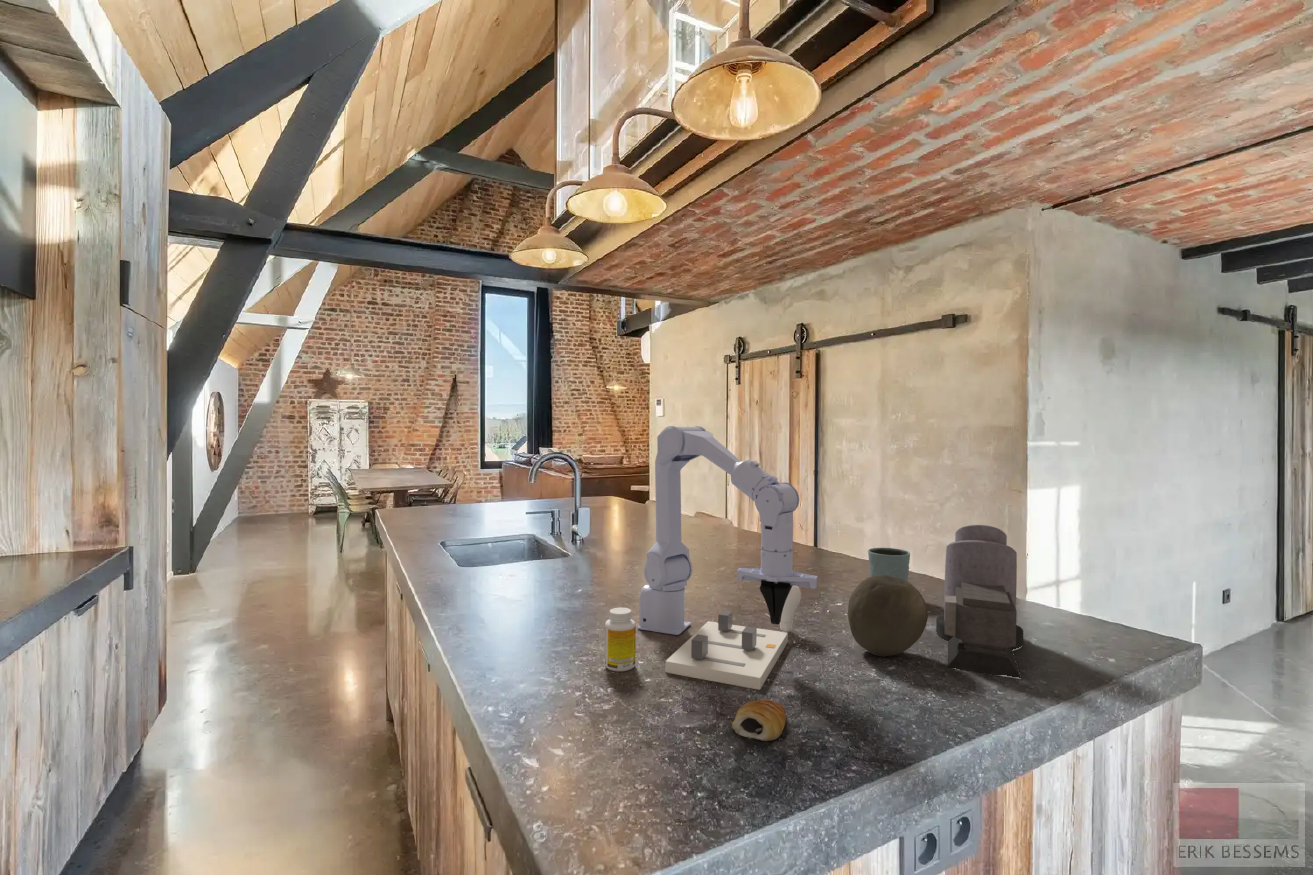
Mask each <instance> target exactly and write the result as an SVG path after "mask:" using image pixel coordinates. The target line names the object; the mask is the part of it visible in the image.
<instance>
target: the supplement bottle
mask: <svg viewBox="0 0 1313 875" xmlns="http://www.w3.org/2000/svg"><path fill="white" fill-rule="evenodd" d="M608 617H609V618H608V619H607V620H606V621H605V624H604V666H605V667H606V668H607V669H608V670H610V671H613V672H618V673H619V672H627V671H629V670H632V669H634V667H635V665H636V629H637V628H636V627H637V626H636V621H635V620H634V619H632V617H633V616H632V609H630V608H628V607H614V608H611V609H610V610H609V616H608Z"/></svg>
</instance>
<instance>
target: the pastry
mask: <svg viewBox="0 0 1313 875" xmlns="http://www.w3.org/2000/svg"><path fill="white" fill-rule="evenodd" d="M731 726H732V729H733V730H734V732H735V733H736V734H737V735H739V736H742V737H745V738H748V739H755V740H759V741H762V742H772V741H774V740H777V739H779V737H780V736H781V735H782V733H783V730H784V728H785V726H786V709H785V707H784V706H783V704H780V703H778V702H776V701H774V700H772V699H769V698H767V699H758V700H752V701H748V702H746V703H744V705H743V706H740V707H739V708H738V709H737V711H736V714H735V718H734V721H732V722H731Z"/></svg>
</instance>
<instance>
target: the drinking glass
mask: <svg viewBox="0 0 1313 875" xmlns="http://www.w3.org/2000/svg"><path fill="white" fill-rule="evenodd" d="M867 554H868V563H869V564H868V565H869V574H870V575H869V577H873V576H876V575H889V576H894V577H897V578H901V579H904V580H906V581H907V582H909V570H910V562H911V561H910V560H911V559H910V558H911V553H910V551H909V550H905V549H901V548H894V547H873V548H869V549H868V550H867Z"/></svg>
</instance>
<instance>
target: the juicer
mask: <svg viewBox="0 0 1313 875" xmlns="http://www.w3.org/2000/svg"><path fill="white" fill-rule="evenodd" d="M954 536H955V537H954V538H955V539H954V540H955V541H953V542H950V543H949V544H947V545H946V547H945V548H946V550H945V551H946V552H945V565H944V566H945V567H944V568H945V569H944V598H943V600H944V601H943V602H944V604H943V605H944V606H943V607H944V612H943V613H941V614H939V615H938V616H937V617H936V621H935V622H936V626H935V632H937V633H936V635H937V637H938V638H940V639H941V640H943V639H944V641H945V640H946V641H945V642H947V641H948V645H947V646H948V652H946V653H948V658H947V661H948V663H947V669H951V668H956V669H955V670H957V669H960V670H959V671H963V670H965V672H970V673H975V672H976V674H977V673H978V674H981V673H985V674H984V675H987V674H992V675H991V676H993V675H1007V676H1012V677H1019V678H1022V676H1021V677H1020V675H1021V673H1020V674H1019V671H1020V670H1019V671H1018V668H1019V666H1018V667H1017V665H1018V663H1017V664H1016V662H1017V659H1016V660H1015V658H1016V657H1015V658H1014V655H1015V654H1014V655H1013V652H1014V651H1012V650H1013V649H1016V648H1019V647H1021V646H1022V645H1023V646H1024V629H1023V628H1022V627H1021V626H1020V625H1018V624H1017V617H1018V616H1017V613H1018V612H1017V585H1018V583H1017V580H1018V579H1017V578H1018V576H1017V575H1018V573H1017V572H1018V571H1017V570H1018V569H1017V568H1018V566H1017V565H1018V563H1017V562H1018V560H1017V557H1018V556H1017V554H1018V553H1017V551H1016V549H1014V548H1012V547H1011V546H1009V545H1008V543H1007V541H1008V540H1007V538H1008V536H1007V533H1005V531H1003V530H1002V529H1000V528H997V527H995V526H991V525H985V524H972V525H965V526H962V527H960V528H958V529H957V530H956V531H955V534H954ZM947 646H946V647H947ZM1015 661H1016V662H1015Z"/></svg>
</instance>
